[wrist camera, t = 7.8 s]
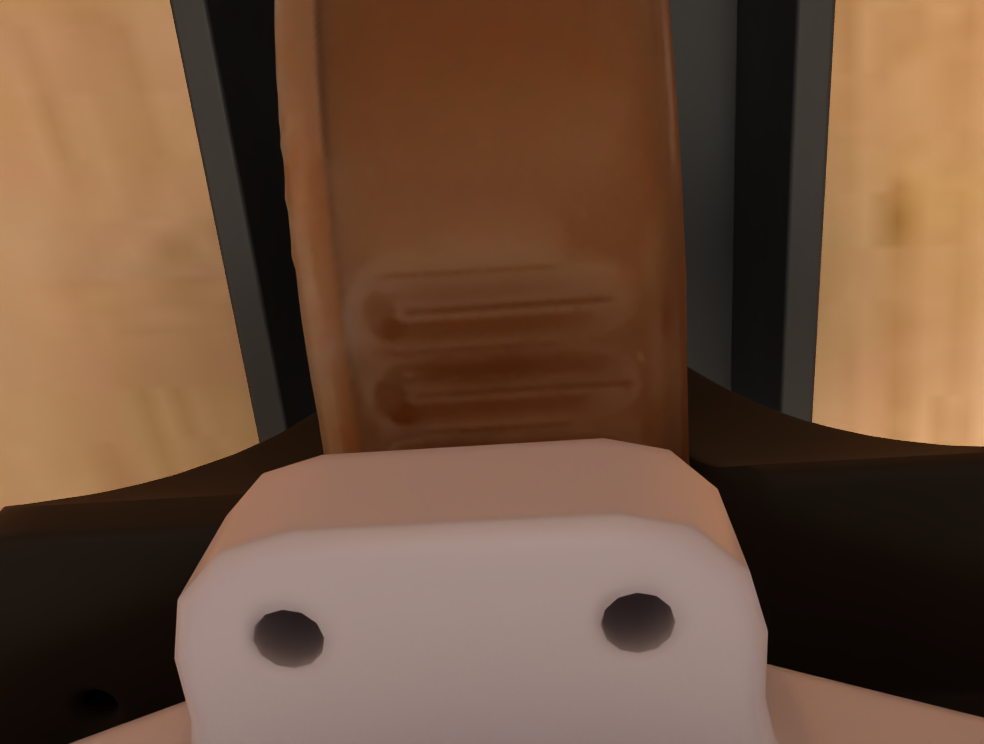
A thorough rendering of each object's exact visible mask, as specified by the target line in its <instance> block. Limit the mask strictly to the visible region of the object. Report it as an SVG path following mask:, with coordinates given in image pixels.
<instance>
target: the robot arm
mask: <svg viewBox="0 0 984 744" xmlns="http://www.w3.org/2000/svg"><path fill="white" fill-rule="evenodd" d="M687 382H688V432H689V465H690V466H689V465H688V464H686V463H685V462H684V461H683V460H682V459H680V458H679V457H678V456H677V455H675V454H674V453H673V452H672V451H671V450H668V449H662V448H656V447H651V446H645V445H639V444H634V443H628V442H623V441H617V440H611V439H606V438H597V439H581V440H564V441H547V442H530V443H513V444H496V445H479V446H463V447H446V448H429V449H412V450H395V451H378V452H361V453H344V454H328V455H324V452H323V446H322V439H321V433H320V427H319V421H318V415H317V412H316V413H314V414H312V415H311V416H309V417H307V418H306V419H304V420H302V421H301V422H299V423H297V424H296V425H294V426H292V427H291V428H289V429H287V430H285V431H283V432H281V433H279V434H278V435H276V436H274V437H272V438H270V439H267V440H265V441H263V442H261V443H259V444H257V445H254V446H252V447H250V448H248V449H245V450H243V451H241V452H239V453H236V454H234V455H231V456H229V457H226V458H223V459H220V460H217V461H214V462H211V463H209V464H206V465H203V466H200V467H197V468H194V469H191V470H188V471H185V472H182V473H179V474H176V475H173V476H169V477H166V478H162V479H158V480H154V481H150V482H147V483H143V484H139V485H134V486H130V487H125V488H121V489H116V490H112V491H107V492H102V493H97V494H91V495H86V496H79V497H72V498H65V499H58V500H52V501H45V502H38V503H31V504H24V505H15V506H6V507H4V508H3V509H2V510H1V511H0V744H984V447H977V446H948V445H936V444H927V443H918V442H909V441H900V440H893V439H886V438H880V437H873V436H868V435H863V434H858V433H853V432H849V431H844V430H840V429H835V428H831V427H826V426H823V425H819V424H815V423H812V422H808V421H805V420H802V419H799V418H796V417H793V416H790V415H787V414H784V413H781V412H778V411H775V410H773V409H770V408H768V407H765V406H763V405H760V404H758V403H756V402H753V401H751V400H749V399H747V398H745V397H743V396H741V395H738V394H736V393H734V392H732V391H730V390H728V389H726V388H724V387H722V386H720V385H719V384H717V383H715V382H713V381H711V380H709V379H708V378H706V377H704V376H702V375H701V374H699V373H697V372H696V371H694V370H692V369H691V368H689V367H687Z"/></svg>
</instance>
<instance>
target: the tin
mask: <svg viewBox="0 0 984 744" xmlns="http://www.w3.org/2000/svg"><path fill="white" fill-rule="evenodd" d="M275 51H276V80H277V91H278V110H279V125H280V133H281V140H280V146H281V151H282V156H283V161H284V174H285V201H286V205H287V210H288V215H289V226H290V237H291V254H292V260H293V263H294V266H295V269H296V277H297V286H298V294H299V303H300V311H301V319H302V326H303V332H304V338H305V345H306V351H307V358H308V364H309V370H310V376H311V382H312V387H313V393H314V398H315V404H316V409H317V415H318V421H319V427H320V433H321V439H322V446H323V452H324V455H328V454H344V453H361V452H378V451H395V450H412V449H429V448H446V447H463V446H479V445H496V444H513V443H530V442H547V441H564V440H581V439H597V438H606V439H611V440H617V441H623V442H628V443H634V444H639V445H645V446H651V447H656V448H662V449H668V450H671V451H672V452H673V453H674V454H675V455H677V456H678V457H679V458H680V459H682V460H683V461H684V462H685V463H686V464H688V465H689V432H688V382H687V303H686V260H685V239H684V217H683V195H682V174H681V156H680V139H679V122H678V106H677V94H676V81H675V69H674V56H673V43H672V31H671V18H670V8H669V1H668V0H275ZM689 466H690V465H689Z"/></svg>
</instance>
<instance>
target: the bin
mask: <svg viewBox="0 0 984 744" xmlns="http://www.w3.org/2000/svg"><path fill="white" fill-rule="evenodd" d="M668 1H669V8H670V18H671V31H672V43H673V56H674V69H675V81H676V94H677V106H678V122H679V139H680V156H681V174H682V195H683V217H684V239H685V260H686V303H687V367H689V368H691V369H692V370H694V371H696V372H697V373H699V374H701V375H702V376H704V377H706V378H708V379H709V380H711V381H713V382H715V383H717V384H719V385H720V386H722V387H724V388H726V389H728V390H730V391H732V392H734V393H736V394H738V395H741V396H743V397H745V398H747V399H749V400H751V401H753V402H756V403H758V404H760V405H763V406H765V407H768V408H770V409H773V410H775V411H778V412H781V413H784V414H787V415H790V416H793V417H796V418H799V419H802V420H805V421H808V422H812V412H813V394H814V376H815V358H816V340H817V322H818V305H819V287H820V269H821V251H822V233H823V215H824V197H825V179H826V161H827V143H828V125H829V107H830V90H831V72H832V54H833V36H834V18H835V0H668ZM170 4H171V9H172V14H173V19H174V23H175V28H176V33H177V38H178V43H179V48H180V53H181V58H182V63H183V68H184V73H185V78H186V83H187V87H188V92H189V97H190V102H191V107H192V112H193V117H194V122H195V127H196V132H197V137H198V142H199V146H200V151H201V156H202V161H203V166H204V171H205V176H206V181H207V186H208V191H209V196H210V201H211V206H212V210H213V215H214V220H215V225H216V230H217V235H218V240H219V245H220V250H221V255H222V260H223V265H224V269H225V274H226V279H227V284H228V289H229V294H230V299H231V304H232V309H233V314H234V319H235V324H236V329H237V333H238V338H239V343H240V348H241V353H242V358H243V363H244V368H245V373H246V378H247V383H248V388H249V392H250V397H251V402H252V407H253V412H254V417H255V422H256V427H257V432H258V437H259V442H260V443H261V442H263V441H265V440H267V439H270V438H272V437H274V436H276V435H278V434H279V433H281V432H283V431H285V430H287V429H289V428H291V427H292V426H294V425H296V424H297V423H299V422H301V421H302V420H304V419H306V418H307V417H309V416H311V415H312V414H314V413H316V412H317V409H316V404H315V398H314V393H313V387H312V382H311V376H310V370H309V364H308V358H307V351H306V345H305V338H304V332H303V326H302V319H301V311H300V303H299V294H298V286H297V277H296V269H295V266H294V263H293V260H292V254H291V237H290V226H289V215H288V210H287V205H286V201H285V174H284V161H283V156H282V151H281V146H280V140H281V133H280V125H279V110H278V91H277V80H276V51H275V0H170Z"/></svg>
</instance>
